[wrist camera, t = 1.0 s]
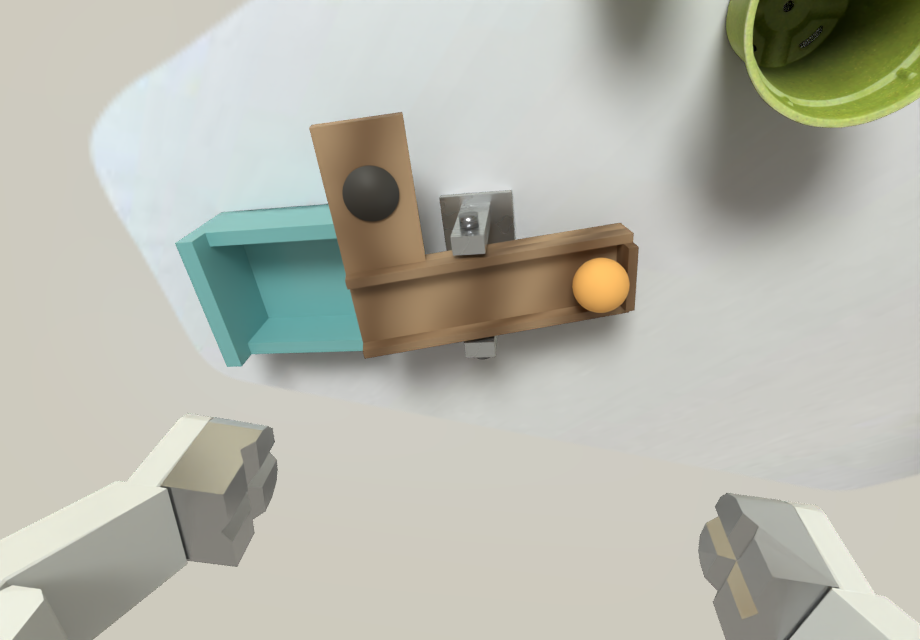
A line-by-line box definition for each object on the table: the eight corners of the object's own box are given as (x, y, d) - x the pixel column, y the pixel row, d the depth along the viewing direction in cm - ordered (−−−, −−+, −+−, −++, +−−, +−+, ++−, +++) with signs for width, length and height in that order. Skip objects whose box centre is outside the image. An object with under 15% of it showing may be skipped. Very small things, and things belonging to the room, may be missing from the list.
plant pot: (761, 132, 32) (830, 170, 24) (656, 23, 29) (699, 28, 22) (917, -8, 27) (1060, -14, 20) (809, -150, 25) (925, -215, 18)
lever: (626, 79, 29) (649, 84, 27) (616, 298, 37) (633, 318, 34) (311, 124, 28) (305, 134, 26) (364, 342, 35) (364, 365, 33)
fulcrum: (511, 187, 35) (508, 220, 30) (519, 317, 41) (518, 366, 35) (440, 192, 36) (424, 226, 31) (457, 319, 41) (446, 367, 36)
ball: (622, 246, 33) (638, 269, 30) (620, 294, 35) (634, 320, 32) (568, 251, 33) (577, 275, 30) (568, 299, 35) (577, 325, 32)
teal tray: (357, 201, 37) (329, 232, 32) (383, 320, 42) (362, 363, 37) (221, 212, 39) (175, 243, 34) (262, 324, 44) (227, 366, 39)
